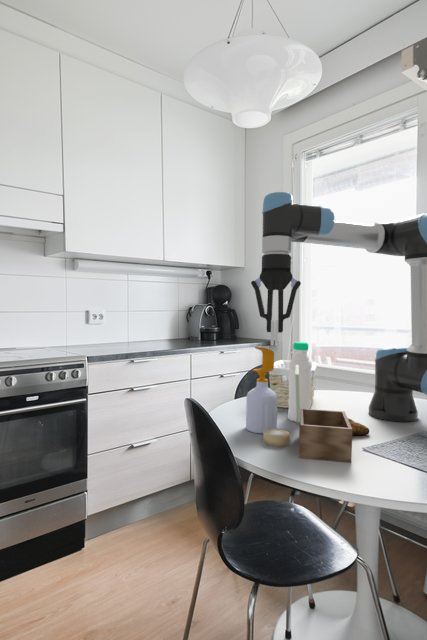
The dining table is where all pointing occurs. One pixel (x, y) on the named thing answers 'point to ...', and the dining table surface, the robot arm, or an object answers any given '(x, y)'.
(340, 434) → the box
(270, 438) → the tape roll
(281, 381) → the storage basket
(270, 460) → the dining table surface
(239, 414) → the dining table surface
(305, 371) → the water bottle
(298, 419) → the lid
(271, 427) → the soap bottle
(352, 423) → the croissant
